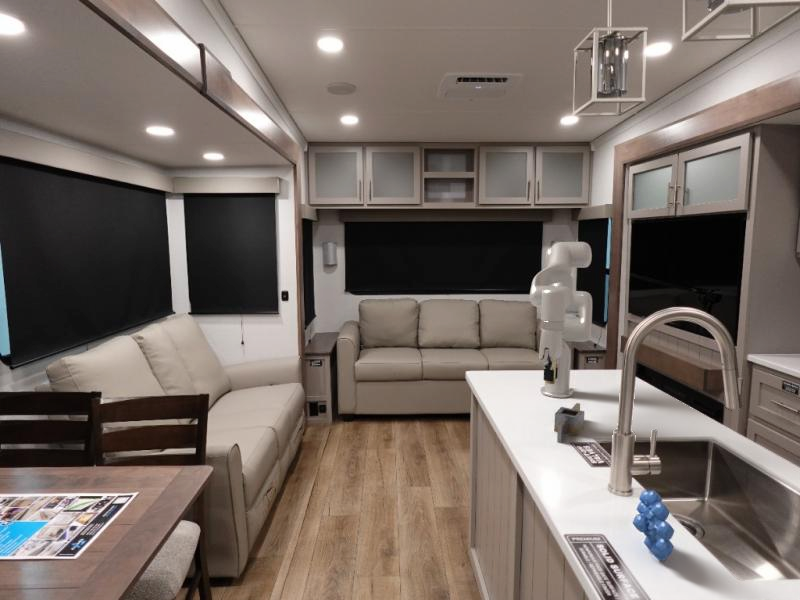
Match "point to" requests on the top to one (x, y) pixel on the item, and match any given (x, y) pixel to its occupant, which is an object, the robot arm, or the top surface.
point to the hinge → (568, 422)
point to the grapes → (654, 524)
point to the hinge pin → (554, 372)
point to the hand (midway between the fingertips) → (550, 379)
